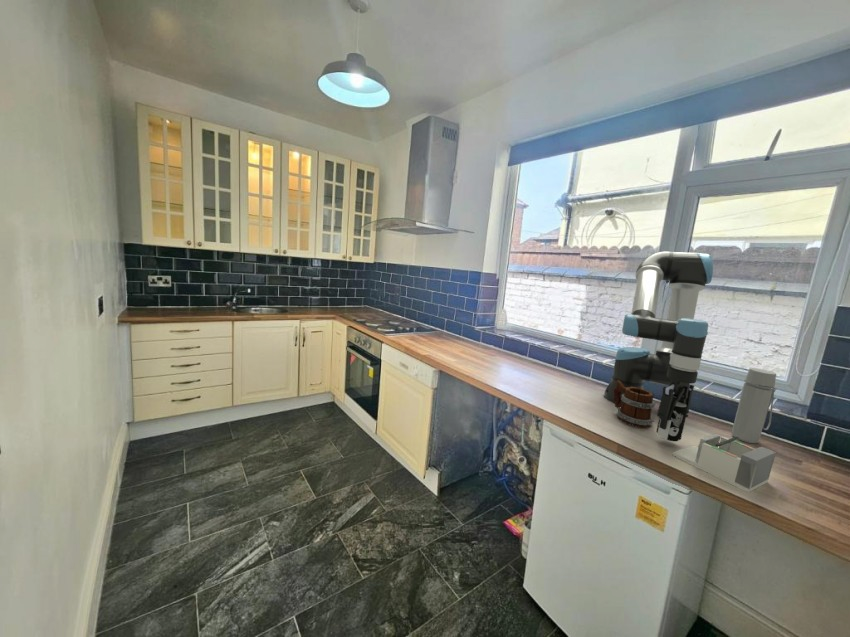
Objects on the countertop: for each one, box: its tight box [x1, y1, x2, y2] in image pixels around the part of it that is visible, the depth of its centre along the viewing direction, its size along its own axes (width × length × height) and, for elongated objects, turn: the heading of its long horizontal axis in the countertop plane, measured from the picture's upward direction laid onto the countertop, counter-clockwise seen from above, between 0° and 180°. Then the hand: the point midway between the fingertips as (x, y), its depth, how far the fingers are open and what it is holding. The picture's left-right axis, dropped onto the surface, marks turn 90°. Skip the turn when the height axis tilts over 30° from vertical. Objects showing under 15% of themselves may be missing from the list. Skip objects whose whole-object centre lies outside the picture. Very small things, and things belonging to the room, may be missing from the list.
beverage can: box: [656, 402, 688, 442], centre depth 109 cm, size 7×7×12 cm
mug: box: [614, 380, 656, 429], centre depth 126 cm, size 12×14×15 cm
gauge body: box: [672, 436, 777, 493], centre depth 97 cm, size 12×18×9 cm, turn 27°
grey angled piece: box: [696, 433, 739, 461], centre depth 98 cm, size 12×7×8 cm, turn 117°
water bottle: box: [731, 367, 778, 444], centre depth 116 cm, size 9×8×25 cm
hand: (668, 435), depth 110 cm, fingers closed on beverage can, 7 cm apart
